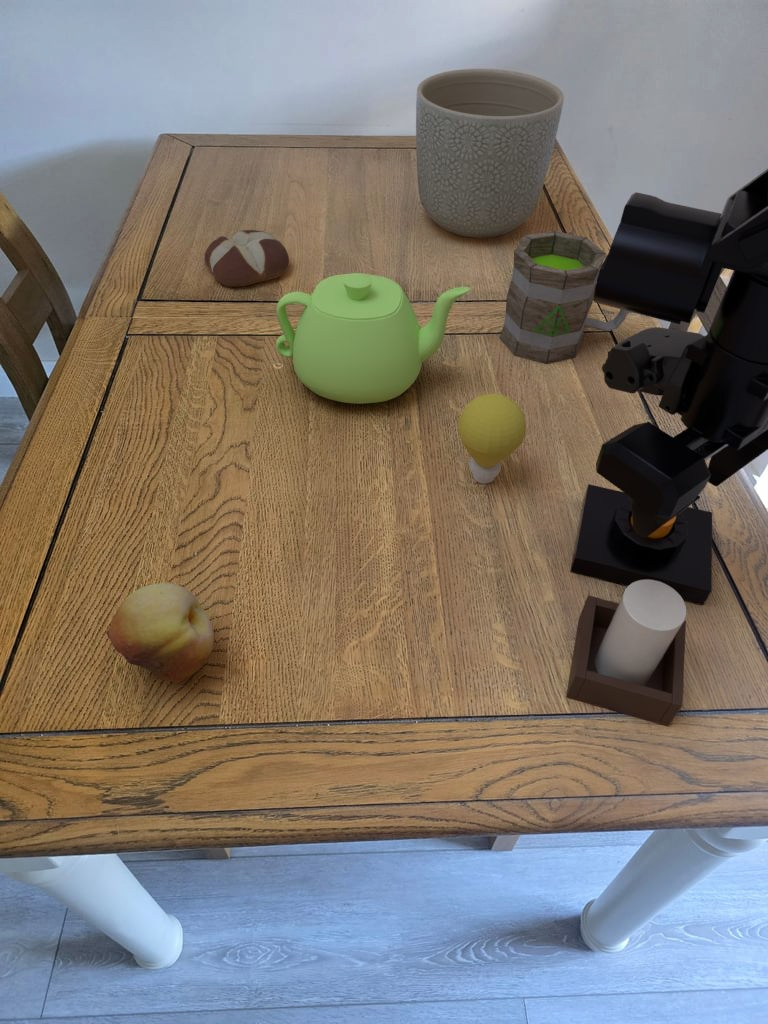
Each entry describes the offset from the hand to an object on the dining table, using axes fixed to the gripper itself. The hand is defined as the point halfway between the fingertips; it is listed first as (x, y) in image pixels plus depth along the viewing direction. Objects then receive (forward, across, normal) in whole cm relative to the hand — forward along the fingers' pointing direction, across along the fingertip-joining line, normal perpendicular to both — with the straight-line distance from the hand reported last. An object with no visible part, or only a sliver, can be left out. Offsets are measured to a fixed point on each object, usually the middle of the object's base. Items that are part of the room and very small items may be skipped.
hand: (677, 507), depth 56 cm
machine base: (+12, -5, -3) cm, 13 cm away
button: (+8, -5, -3) cm, 10 cm away
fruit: (+12, +37, -19) cm, 43 cm away
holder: (+12, +7, +4) cm, 14 cm away
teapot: (+12, 0, -40) cm, 42 cm away
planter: (+12, -39, -64) cm, 75 cm away
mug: (+12, -25, -32) cm, 42 cm away
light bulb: (+12, 0, -20) cm, 23 cm away
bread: (+12, -1, -72) cm, 73 cm away
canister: (+11, +7, +4) cm, 14 cm away
